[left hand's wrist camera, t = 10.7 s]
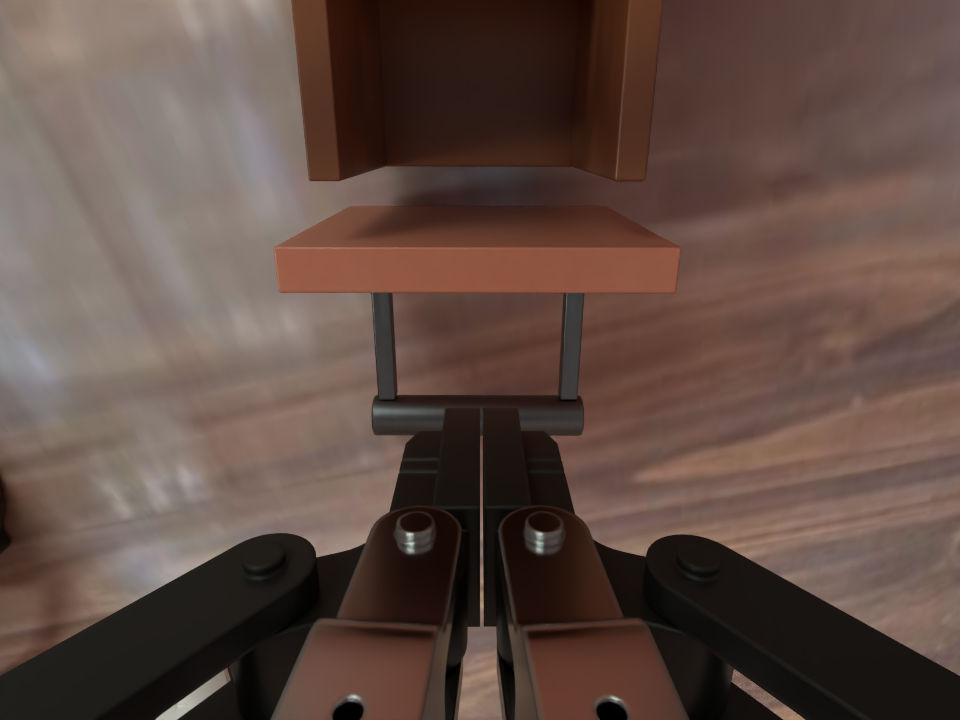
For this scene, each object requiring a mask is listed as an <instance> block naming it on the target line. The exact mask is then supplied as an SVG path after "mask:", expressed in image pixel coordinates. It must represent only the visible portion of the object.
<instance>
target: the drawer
mask: <svg viewBox="0 0 960 720" xmlns="http://www.w3.org/2000/svg"><path fill="white" fill-rule="evenodd" d="M291 1H292V11H293V21H294V32H295V42H296V52H297V62H298V73H299V83H300V93H301V104H302V114H303V124H304V134H305V145H306V155H307V165H308V176H309V180H310V181H341V180H344V179H347V178H350V177H353V176H356V175H360V174H363V173H366V172H369V171H372V170H375V169H379V168H382V167H385V166H547V167H575V168H578V169H581V170H584V171H587V172H590V173H593V174H596V175H599V176H602V177H605V178H608V179H611V180H614V181H645V179H646V173H647V163H648V152H649V142H650V132H651V122H652V111H653V101H654V91H655V80H656V70H657V60H658V50H659V39H660V29H661V19H662V8H663V0H291ZM274 254H275V262H276V271H277V279H278V287H279V292H281V293H371V294H372V310H373V325H374V340H375V355H376V371H377V386H378V395H376V396H375V397H374V400H373V404H372V429H373V432H374V434H375V435H416V434H417V433H418V432H419V431H442V428H443V421H444V413H445V408H480V435H483V408H518V412H519V419H520V426H521V431H544V432H545V433H546V434H548V435H549V436H579V435H581V434H582V431H583V426H584V407H583V401H582V398H581V396H579V395H578V381H579V366H580V351H581V336H582V321H583V306H584V293H675V292H676V287H677V279H678V270H679V262H680V254H681V248H680V247H678V246H676V245H675V244H673V243H671V242H669V241H667V240H666V239H664V238H662V237H660V236H658V235H657V234H655V233H653V232H651V231H649V230H648V229H646V228H644V227H642V226H640V225H639V224H637V223H635V222H633V221H631V220H630V219H628V218H626V217H624V216H622V215H621V214H619V213H617V212H615V211H613V210H612V209H610V208H608V207H587V206H350V207H348V208H346V209H344V210H342V211H341V212H339V213H337V214H335V215H333V216H331V217H329V218H328V219H326V220H324V221H322V222H320V223H318V224H316V225H315V226H313V227H311V228H309V229H307V230H305V231H303V232H302V233H300V234H298V235H296V236H294V237H292V238H290V239H289V240H287V241H285V242H283V243H281V244H279V245H277V246H276V247H274ZM392 293H563V312H562V331H561V349H560V368H559V387H558V393H559V395H397V392H398V391H397V372H396V353H395V334H394V315H393V296H392Z"/></svg>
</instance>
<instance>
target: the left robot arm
mask: <svg viewBox="0 0 960 720" xmlns="http://www.w3.org/2000/svg"><path fill="white" fill-rule="evenodd" d="M3 519H4V501H3V495H2V492H1V488H0V554H1V553H2V552H3V551H5V550H6V549H7V548H8V547H9V546H10V544H11V543H10V541H9V539H8V538H7V536H6V535H5V534H4V531H3V529H2V524H3ZM483 572H484V626H496V630H497V678H498V686H499V694H500V703H501V711H502V719H503V720H783V719H781V718H780V717H779V716H777V715H776V714H775V713H773V712H772V711H771V710H769V709H768V708H766V707H765V706H764V705H762V704H761V703H760V702H758V701H757V700H755V699H754V698H753V697H751V696H750V695H749V694H747V693H746V692H745V691H743V690H742V689H740V688H739V687H738V686H736V685H735V684H734V683H732V682H731V680H732V675H733V670H734V669H736V670H737V671H738V672H740V673H741V674H743V675H744V676H745V677H747V678H748V679H750V680H751V681H752V682H754V683H755V684H757V685H758V686H759V687H761V688H762V689H764V690H765V691H766V692H768V693H769V694H771V695H772V696H774V697H775V698H776V699H778V700H779V701H781V702H782V703H783V704H785V705H786V706H788V707H789V708H790V709H792V710H793V711H795V712H796V713H797V714H799V715H800V716H801V717H803V718H804V719H805V720H960V676H959V675H957V674H955V673H953V672H951V671H950V670H948V669H946V668H944V667H942V666H941V665H939V664H937V663H935V662H933V661H932V660H930V659H928V658H926V657H924V656H922V655H921V654H919V653H917V652H915V651H913V650H912V649H910V648H908V647H906V646H904V645H903V644H901V643H899V642H897V641H895V640H894V639H892V638H890V637H888V636H886V635H885V634H883V633H881V632H879V631H877V630H876V629H874V628H872V627H870V626H868V625H867V624H865V623H863V622H861V621H859V620H858V619H856V618H854V617H852V616H850V615H848V614H847V613H845V612H843V611H841V610H839V609H838V608H836V607H834V606H832V605H830V604H829V603H827V602H825V601H823V600H821V599H820V598H818V597H816V596H814V595H812V594H811V593H809V592H807V591H805V590H803V589H802V588H800V587H798V586H796V585H794V584H793V583H791V582H789V581H787V580H785V579H784V578H782V577H780V576H778V575H776V574H774V573H773V572H771V571H769V570H767V569H765V568H764V567H762V566H760V565H758V564H756V563H755V562H753V561H751V560H749V559H747V558H746V557H744V556H742V555H740V554H738V553H737V552H735V551H733V550H731V549H729V548H728V547H726V546H724V545H722V544H720V543H718V542H715V541H713V540H710V539H707V538H703V537H699V536H694V535H671V536H666V537H663V538H660V539H658V540H657V541H655V542H654V543H653V544H651V546H650V547H649V549H648V551H647V554H646V557H644V556H639V555H635V554H630V553H626V552H622V551H618V550H614V549H611V548H609V547H606V546H604V545H602V544H600V543H598V542H596V541H595V540H593V539H592V536H591V534H590V531H589V529H588V527H587V525H586V524H585V523H584V522H583V520H581V519H580V518H579V517H578V516H576V515H575V512H574V508H573V504H572V500H571V496H570V492H569V488H568V484H567V480H566V476H565V473H564V468H563V465H562V461H561V457H560V453H559V449H558V445H557V443H556V442H555V441H554V440H553V439H552V438H551V437H550V436H549V435H548V434H546V433H545V432H544V431H521V426H520V419H519V412H518V408H483ZM468 627H480V408H445V413H444V421H443V428H442V431H419V432H418V433H417V434H416V435H415V436H414V437H413V438H411V439H410V440H409V441H408V442H407V443H406V446H405V450H404V454H403V458H402V462H401V466H400V473H399V475H398V479H397V483H396V487H395V491H394V495H393V499H392V504H391V508H390V512H389V513H387V514H385V515H384V516H382V517H381V518H380V519H379V520H377V522H376V523H375V524H374V525H373V527H372V529H371V531H370V534H369V536H368V539H367V541H366V543H365V544H363V545H361V546H359V547H356V548H353V549H351V550H347V551H343V552H339V553H335V554H330V555H326V556H321V557H317V558H316V552H315V549H314V547H313V546H312V544H311V543H310V542H309V541H307V540H306V539H304V538H302V537H300V536H297V535H293V534H287V533H275V534H267V535H262V536H258V537H254V538H252V539H249V540H246V541H244V542H242V543H240V544H238V545H236V546H234V547H232V548H231V549H229V550H227V551H225V552H223V553H222V554H220V555H218V556H216V557H214V558H213V559H211V560H209V561H207V562H205V563H204V564H202V565H200V566H198V567H196V568H195V569H193V570H191V571H189V572H187V573H186V574H184V575H182V576H180V577H178V578H177V579H175V580H173V581H171V582H169V583H167V584H166V585H164V586H162V587H160V588H158V589H157V590H155V591H153V592H151V593H149V594H148V595H146V596H144V597H142V598H140V599H139V600H137V601H135V602H133V603H131V604H130V605H128V606H126V607H124V608H122V609H121V610H119V611H117V612H115V613H113V614H112V615H110V616H108V617H106V618H104V619H103V620H101V621H99V622H97V623H95V624H93V625H92V626H90V627H88V628H86V629H84V630H83V631H81V632H79V633H77V634H75V635H74V636H72V637H70V638H68V639H66V640H65V641H63V642H61V643H59V644H57V645H56V646H54V647H52V648H50V649H48V650H47V651H45V652H43V653H41V654H39V655H38V656H36V657H34V658H32V659H30V660H29V661H27V662H25V663H23V664H21V665H19V666H18V667H16V668H14V669H12V670H10V671H9V672H7V673H5V674H3V675H1V676H0V720H156V719H157V718H158V717H159V716H160V715H161V714H163V713H164V712H165V711H167V710H168V709H170V708H171V707H172V706H174V705H175V704H177V703H178V702H179V701H181V700H182V699H184V698H185V697H187V696H188V695H189V694H191V693H192V692H194V691H195V690H196V689H198V688H199V687H201V686H202V685H203V684H205V683H206V682H208V681H209V680H210V679H212V678H213V677H215V676H216V675H217V674H219V673H220V672H222V671H223V670H224V669H226V668H227V667H229V666H230V667H231V672H232V677H233V679H232V680H230V681H229V682H228V683H226V684H225V685H224V686H222V687H221V688H220V689H218V690H217V691H215V692H214V693H213V694H211V695H210V696H209V697H207V698H206V699H205V700H203V701H202V702H200V703H199V704H198V705H196V706H195V707H194V708H192V709H191V710H189V711H188V712H187V713H185V714H184V715H183V716H181V717H180V718H179V719H177V720H457V719H458V711H459V703H460V694H461V686H462V678H463V656H464V654H465V652H466V649H467V633H468Z"/></svg>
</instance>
